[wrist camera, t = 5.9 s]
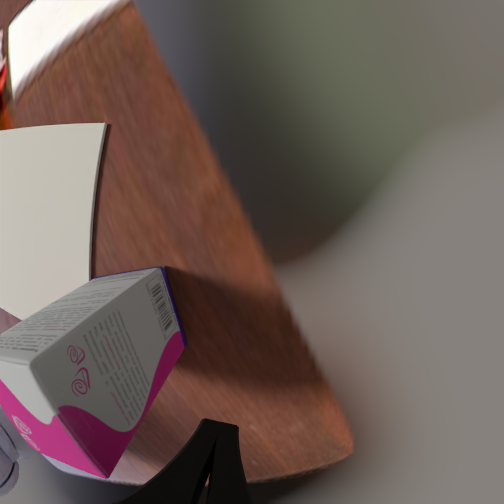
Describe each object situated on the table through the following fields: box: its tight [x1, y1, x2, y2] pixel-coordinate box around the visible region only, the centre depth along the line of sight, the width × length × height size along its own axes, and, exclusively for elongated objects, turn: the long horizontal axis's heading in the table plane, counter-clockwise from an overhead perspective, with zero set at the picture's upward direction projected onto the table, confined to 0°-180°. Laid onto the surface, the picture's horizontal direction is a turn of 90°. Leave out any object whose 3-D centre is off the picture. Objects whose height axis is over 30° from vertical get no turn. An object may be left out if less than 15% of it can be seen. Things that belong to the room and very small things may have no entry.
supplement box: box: [0, 266, 187, 479], centre depth 12 cm, size 6×6×12 cm
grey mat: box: [0, 123, 107, 320], centre depth 17 cm, size 17×18×1 cm
